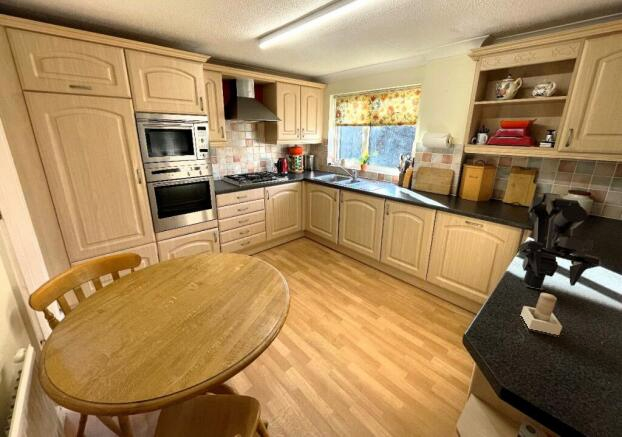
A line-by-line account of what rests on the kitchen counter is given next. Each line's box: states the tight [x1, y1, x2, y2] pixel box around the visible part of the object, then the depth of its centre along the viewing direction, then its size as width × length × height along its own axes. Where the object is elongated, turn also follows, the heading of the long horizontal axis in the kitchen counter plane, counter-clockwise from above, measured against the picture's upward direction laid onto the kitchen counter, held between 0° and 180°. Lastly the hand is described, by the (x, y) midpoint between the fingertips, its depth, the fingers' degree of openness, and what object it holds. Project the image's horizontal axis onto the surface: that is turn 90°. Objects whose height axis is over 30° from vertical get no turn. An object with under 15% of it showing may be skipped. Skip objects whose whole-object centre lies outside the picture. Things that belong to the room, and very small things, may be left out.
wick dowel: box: [533, 292, 558, 322], centre depth 78 cm, size 4×4×10 cm
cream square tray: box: [520, 305, 563, 336], centre depth 79 cm, size 7×7×4 cm
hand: (554, 280), depth 82 cm, fingers open, 9 cm apart
